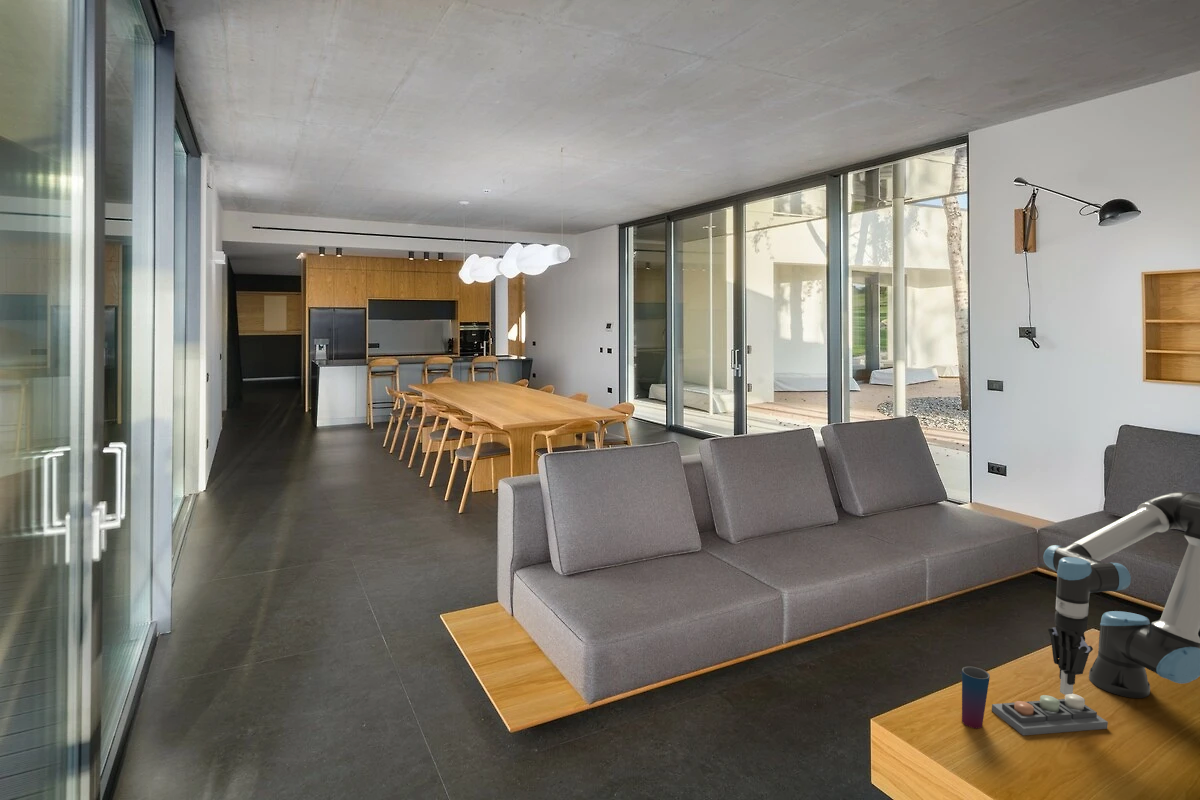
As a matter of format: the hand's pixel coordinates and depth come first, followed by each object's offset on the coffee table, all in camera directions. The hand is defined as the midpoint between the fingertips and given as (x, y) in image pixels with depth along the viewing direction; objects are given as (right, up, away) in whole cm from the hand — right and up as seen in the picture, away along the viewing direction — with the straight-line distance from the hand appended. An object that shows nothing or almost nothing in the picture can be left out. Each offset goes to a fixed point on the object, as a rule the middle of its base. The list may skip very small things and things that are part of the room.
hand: (1066, 692), depth 191 cm
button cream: (+3, -4, +1) cm, 5 cm away
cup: (-28, -8, -2) cm, 29 cm away
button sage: (-5, -4, 0) cm, 7 cm away
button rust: (-13, -5, -1) cm, 14 cm away
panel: (-5, -8, 0) cm, 9 cm away
